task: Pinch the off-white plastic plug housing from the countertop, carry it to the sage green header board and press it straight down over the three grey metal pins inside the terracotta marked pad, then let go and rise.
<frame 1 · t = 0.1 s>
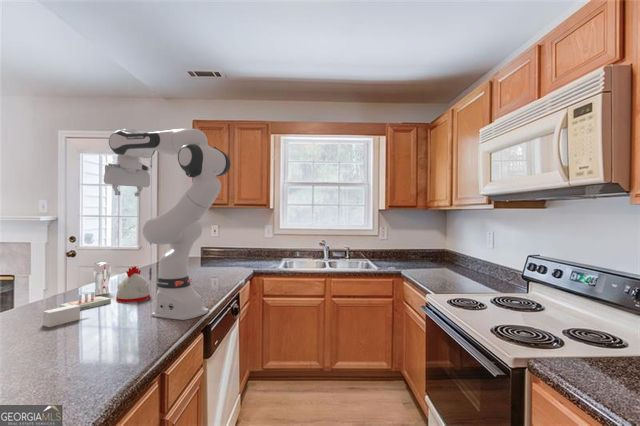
hand: (127, 195, 154), 48 cm above the counter, tool pointing down, fingers open, 8 cm apart
plug housing: (61, 322, 123), on the counter
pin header: (86, 306, 144), on the counter
beer glass: (101, 293, 165), on the counter
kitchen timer: (133, 299, 158), on the counter
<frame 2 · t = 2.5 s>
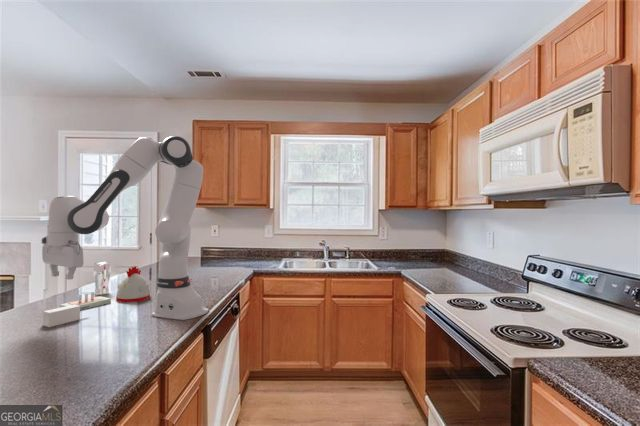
hand: (62, 277, 123), 16 cm above the counter, tool pointing down, fingers open, 8 cm apart
nothing on the counter moved.
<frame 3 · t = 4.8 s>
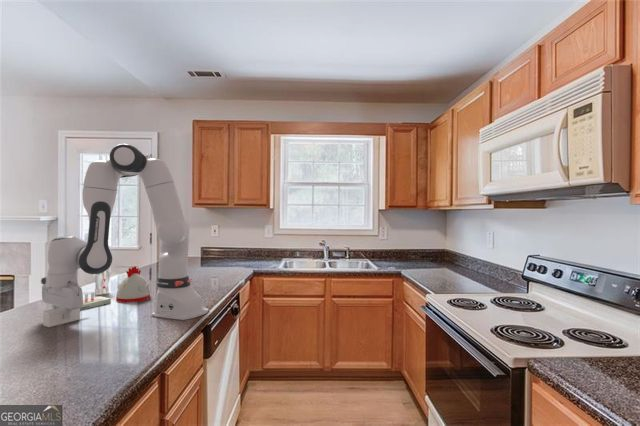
hand: (62, 317, 123), 2 cm above the counter, tool pointing down, fingers closed on plug housing, 4 cm apart
plug housing: (61, 322, 123), on the counter, touching gripper
everything else where it was.
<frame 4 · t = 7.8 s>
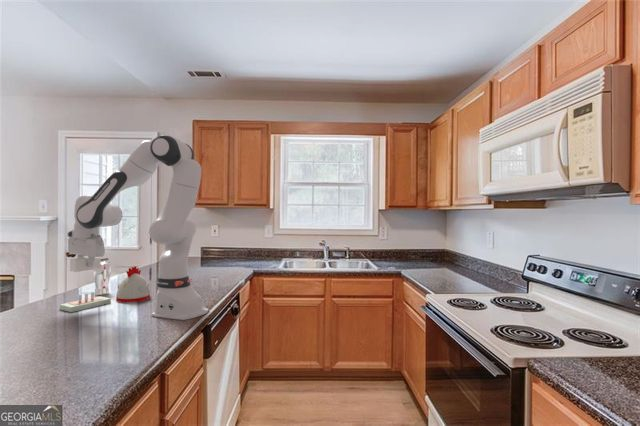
hand: (85, 266, 143), 17 cm above the counter, tool pointing down, fingers closed on plug housing, 4 cm apart
plug housing: (85, 269, 143), point 16 cm above the counter, touching gripper
everything else where it was.
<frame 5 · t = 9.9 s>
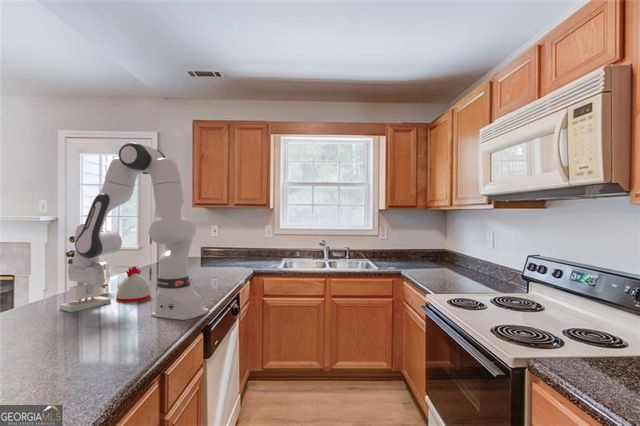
hand: (85, 293, 144), 5 cm above the counter, tool pointing down, fingers closed on plug housing, 4 cm apart
plug housing: (85, 297, 144), point 4 cm above the counter, touching gripper
everything else where it was.
when the fingers open (4 cm above the counter, at t = 11.2 s): plug housing stays where it is, resting on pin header.
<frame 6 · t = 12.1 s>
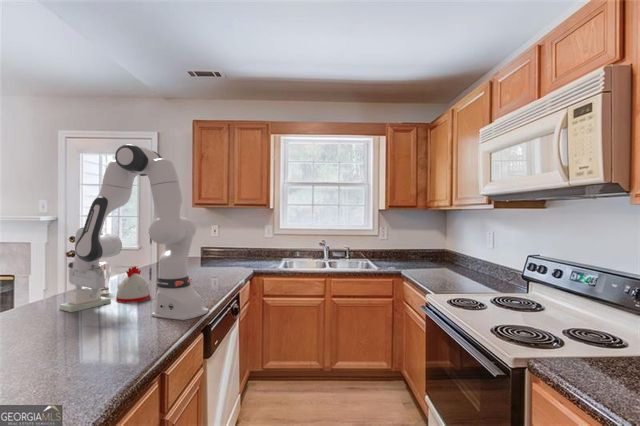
hand: (86, 296, 144), 4 cm above the counter, tool pointing down, fingers open, 8 cm apart
plug housing: (86, 301, 144), point 2 cm above the counter, touching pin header
everything else where it was.
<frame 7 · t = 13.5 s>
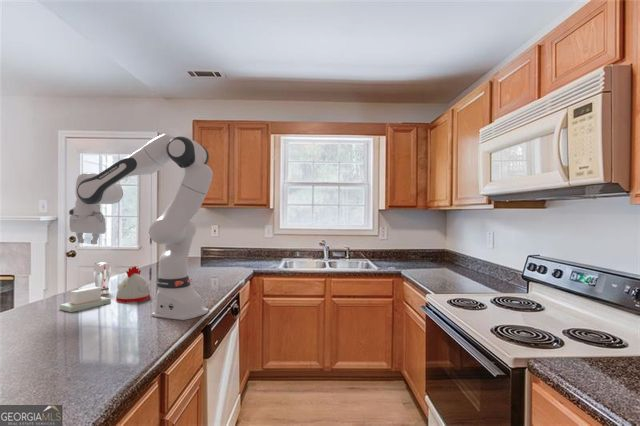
hand: (87, 243, 144), 27 cm above the counter, tool pointing down, fingers open, 8 cm apart
nothing on the counter moved.
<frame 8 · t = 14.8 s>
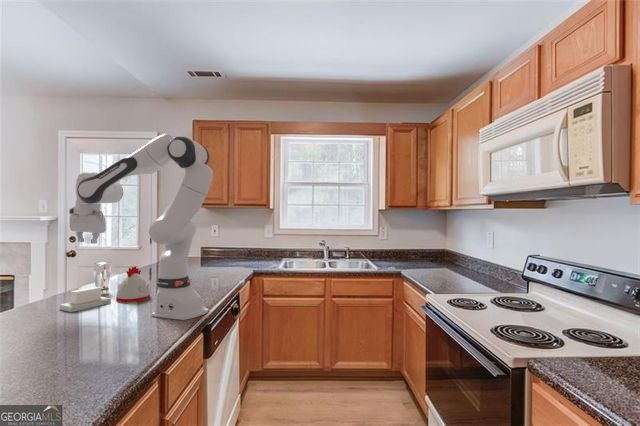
hand: (87, 242, 144), 27 cm above the counter, tool pointing down, fingers open, 8 cm apart
nothing on the counter moved.
at the end: plug housing 0.1 cm off-centre on the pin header, point 2.2 cm above the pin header's base; plug housing tilted 0°; the gripper is holding nothing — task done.
